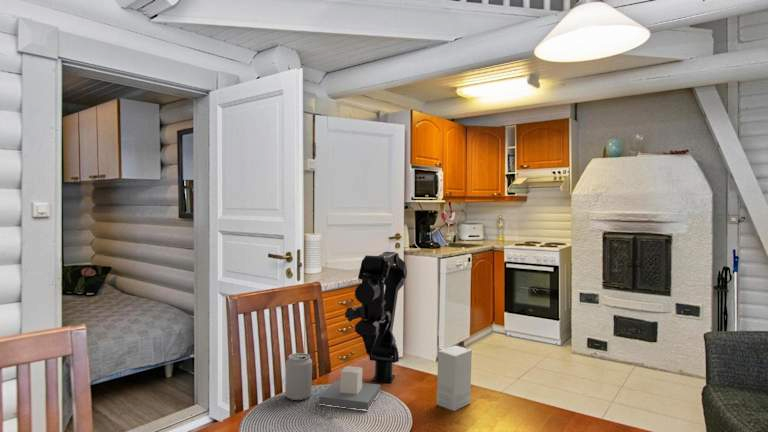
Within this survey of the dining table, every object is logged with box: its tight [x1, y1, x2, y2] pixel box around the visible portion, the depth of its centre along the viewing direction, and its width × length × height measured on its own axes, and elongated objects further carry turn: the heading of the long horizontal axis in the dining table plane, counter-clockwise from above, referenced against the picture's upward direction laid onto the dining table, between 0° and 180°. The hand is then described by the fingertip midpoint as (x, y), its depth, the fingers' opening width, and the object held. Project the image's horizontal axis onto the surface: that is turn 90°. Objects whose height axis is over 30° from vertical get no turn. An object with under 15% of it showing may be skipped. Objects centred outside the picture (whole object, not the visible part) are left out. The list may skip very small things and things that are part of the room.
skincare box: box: [436, 345, 473, 412], centre depth 131 cm, size 8×7×16 cm
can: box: [284, 352, 313, 401], centre depth 134 cm, size 8×8×12 cm
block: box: [340, 365, 364, 394], centre depth 133 cm, size 5×5×6 cm
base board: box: [318, 379, 382, 410], centre depth 133 cm, size 14×14×2 cm
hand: (373, 350), depth 138 cm, fingers open, 9 cm apart
